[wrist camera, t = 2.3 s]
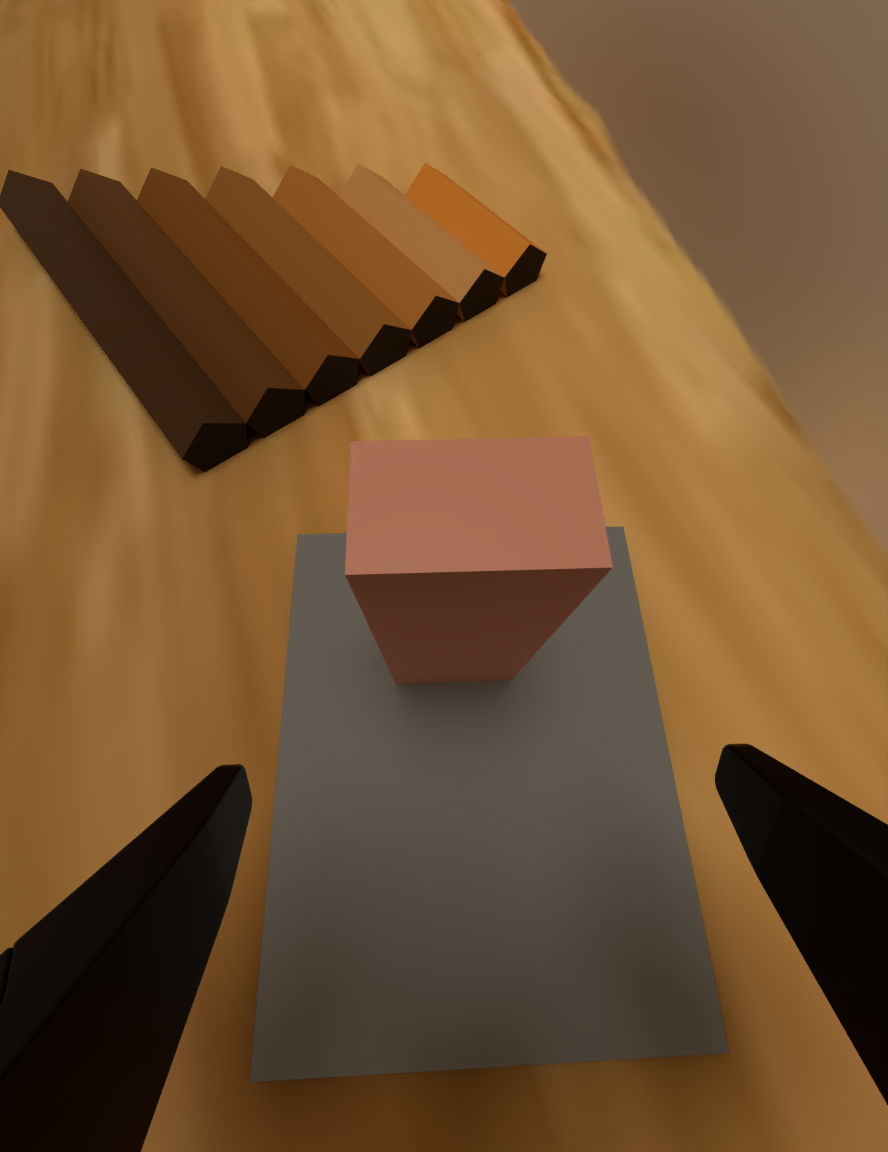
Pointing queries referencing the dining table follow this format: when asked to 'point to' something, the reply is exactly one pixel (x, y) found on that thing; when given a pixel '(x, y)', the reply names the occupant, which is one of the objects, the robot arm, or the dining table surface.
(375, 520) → the tall box
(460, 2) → the dining table surface
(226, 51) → the dining table surface
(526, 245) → the pan flute
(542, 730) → the mat
